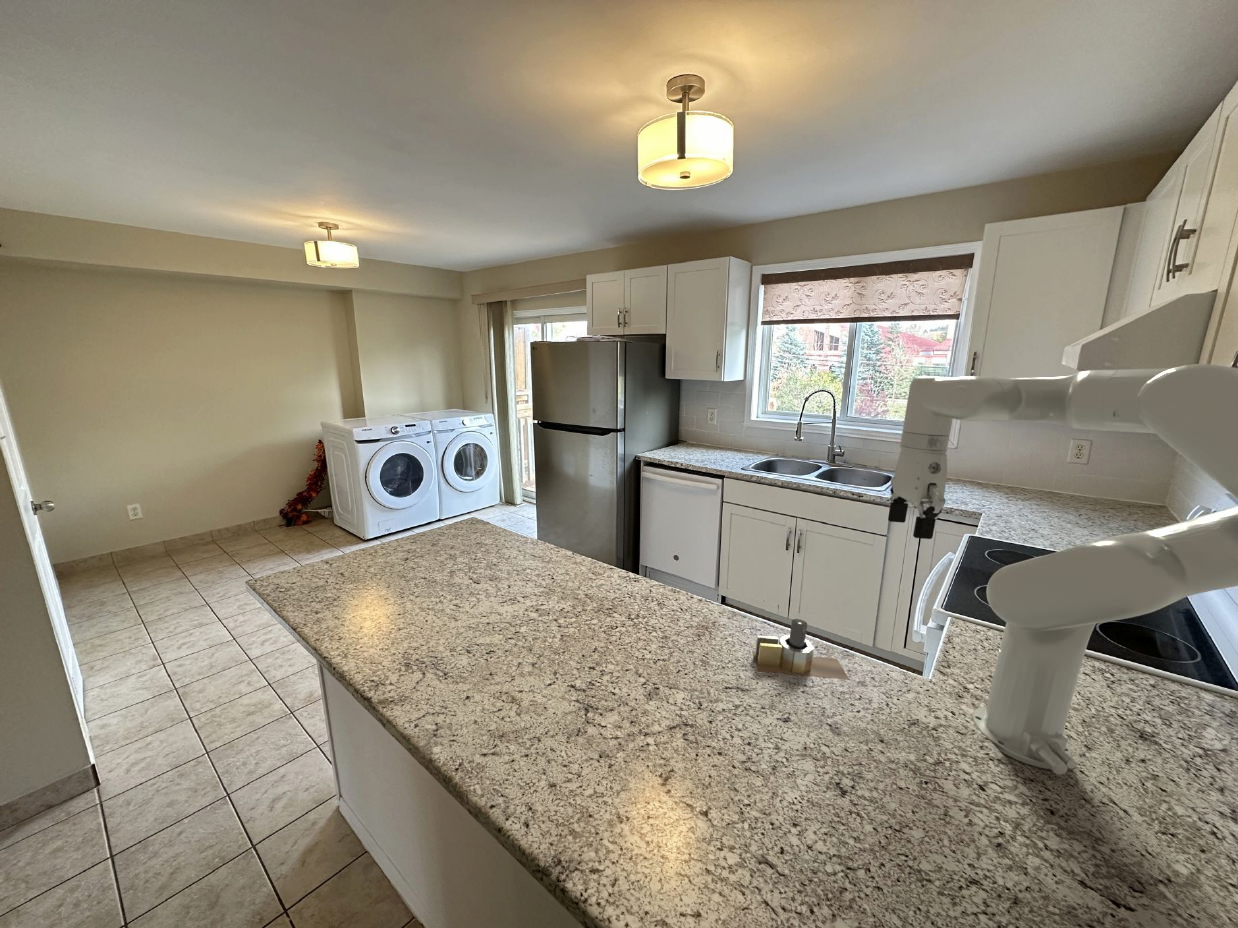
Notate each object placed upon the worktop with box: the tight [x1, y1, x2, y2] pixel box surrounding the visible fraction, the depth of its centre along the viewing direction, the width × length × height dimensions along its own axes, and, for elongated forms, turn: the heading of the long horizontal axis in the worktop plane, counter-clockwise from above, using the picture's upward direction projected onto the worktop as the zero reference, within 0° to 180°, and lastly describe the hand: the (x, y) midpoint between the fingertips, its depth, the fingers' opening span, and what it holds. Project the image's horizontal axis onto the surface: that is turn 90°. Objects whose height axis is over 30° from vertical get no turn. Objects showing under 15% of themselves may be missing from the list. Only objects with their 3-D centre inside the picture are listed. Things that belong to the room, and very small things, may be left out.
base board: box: [751, 650, 850, 680], centre depth 94 cm, size 7×17×1 cm, turn 85°
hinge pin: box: [789, 618, 808, 650], centre depth 93 cm, size 3×3×9 cm
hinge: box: [754, 634, 815, 674], centre depth 94 cm, size 6×10×4 cm, turn 85°
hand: (908, 529), depth 93 cm, fingers open, 9 cm apart
